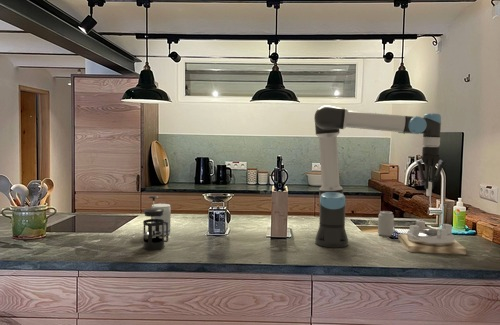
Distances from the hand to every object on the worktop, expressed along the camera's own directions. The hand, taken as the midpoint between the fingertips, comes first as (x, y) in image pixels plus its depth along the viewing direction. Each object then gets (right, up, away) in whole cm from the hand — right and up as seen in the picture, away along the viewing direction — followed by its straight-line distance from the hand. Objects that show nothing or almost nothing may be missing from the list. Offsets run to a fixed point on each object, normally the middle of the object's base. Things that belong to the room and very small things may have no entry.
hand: (428, 195), depth 205 cm
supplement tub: (-130, -20, +10) cm, 132 cm away
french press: (-128, -22, -15) cm, 130 cm away
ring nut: (-2, -20, -7) cm, 21 cm away
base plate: (-2, -23, -7) cm, 24 cm away
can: (-16, -21, +14) cm, 30 cm away
